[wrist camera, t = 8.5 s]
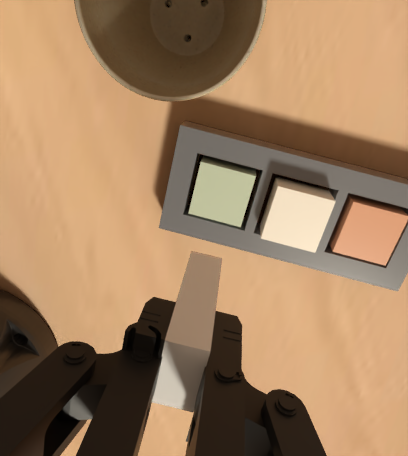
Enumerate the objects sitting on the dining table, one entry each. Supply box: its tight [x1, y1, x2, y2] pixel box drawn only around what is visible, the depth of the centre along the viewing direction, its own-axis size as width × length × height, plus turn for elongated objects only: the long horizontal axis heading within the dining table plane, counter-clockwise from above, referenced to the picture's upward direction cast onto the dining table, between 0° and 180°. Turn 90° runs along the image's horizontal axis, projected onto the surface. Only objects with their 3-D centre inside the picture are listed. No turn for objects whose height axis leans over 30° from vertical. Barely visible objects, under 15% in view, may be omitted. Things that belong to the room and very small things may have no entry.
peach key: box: [329, 193, 408, 266], centre depth 29 cm, size 4×4×2 cm
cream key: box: [260, 177, 336, 253], centre depth 28 cm, size 4×4×2 cm
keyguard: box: [159, 121, 408, 291], centre depth 29 cm, size 19×8×2 cm, turn 77°
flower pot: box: [74, 0, 267, 101], centre depth 23 cm, size 10×10×7 cm
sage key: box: [189, 155, 256, 227], centre depth 29 cm, size 4×4×2 cm
